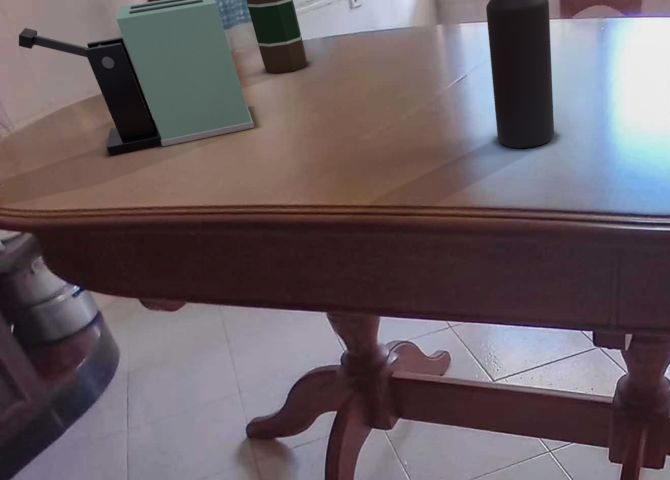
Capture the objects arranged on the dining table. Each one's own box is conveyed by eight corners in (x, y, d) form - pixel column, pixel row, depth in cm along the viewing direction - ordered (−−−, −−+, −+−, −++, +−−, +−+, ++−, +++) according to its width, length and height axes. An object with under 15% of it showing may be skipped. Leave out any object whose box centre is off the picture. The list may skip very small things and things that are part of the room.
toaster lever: (18, 50, 86) (18, 30, 85) (24, 42, 90) (25, 23, 89) (119, 74, 91) (121, 55, 90) (121, 66, 95) (123, 47, 94)
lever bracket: (110, 156, 94) (67, 56, 86) (113, 136, 101) (74, 42, 93) (171, 143, 96) (135, 44, 88) (171, 124, 103) (137, 31, 95)
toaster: (162, 146, 95) (113, 18, 85) (162, 125, 103) (118, 5, 93) (254, 127, 98) (217, 1, 88) (247, 108, 106) (212, -10, 96)
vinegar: (546, 149, 81) (537, -47, 69) (491, 148, 83) (472, -43, 71) (559, 129, 86) (553, -58, 74) (506, 128, 88) (492, -54, 76)
